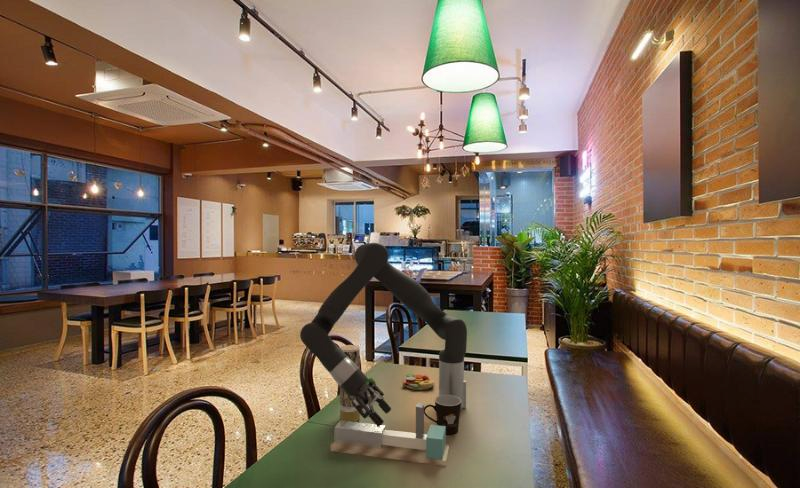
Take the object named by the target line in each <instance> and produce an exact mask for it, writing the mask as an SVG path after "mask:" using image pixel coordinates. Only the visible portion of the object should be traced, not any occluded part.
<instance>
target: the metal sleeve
mask: <svg viewBox="0 0 800 488" xmlns="http://www.w3.org/2000/svg"><path fill="white" fill-rule="evenodd" d="M333 429H334V430H333V431H334V432H333V433H334V434H333V435H334V436H333V439H334V441H333V442H334V443H337V444H345V445H352V446H360V447H368V448H376V449H381V448H382V447H383V445H382V432H383V431H384V430H386V424H385V425H383V424H382V425H380V426H379V427H378V426H377V425H376V424H375V423H367V422H359V421H357V422H350V421H341V420H340V419H339V422H338V423H337V424H336V425H335V426H334V428H333Z"/></svg>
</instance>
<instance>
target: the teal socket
mask: <svg viewBox="0 0 800 488" xmlns="http://www.w3.org/2000/svg"><path fill="white" fill-rule="evenodd" d="M446 436H447V435H446V426H438V425H437V424H429V429H428V431H427V437H426V458H431V459H439V460H443V455H444V451H445V446H446V445H447V440H446V439H447V438H446Z"/></svg>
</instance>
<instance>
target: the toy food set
mask: <svg viewBox="0 0 800 488" xmlns="http://www.w3.org/2000/svg"><path fill="white" fill-rule="evenodd" d="M402 384H403V385H404V386H405V387H406V388H408V389H410V390H412V391H413V390H414V391H425V390H429V389H431V388H433V387H434V386H435V381H433V380H432V379H430V378H429V376H428V375H421V374H414V373H407V374H406V379H405V380H404V381H403V382H402Z"/></svg>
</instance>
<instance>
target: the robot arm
mask: <svg viewBox="0 0 800 488" xmlns="http://www.w3.org/2000/svg"><path fill="white" fill-rule="evenodd" d="M354 260H355V263H356V264H357V266H356V267H355V268H354V270H353V271H352V272H351V273H350V274H349V275H348V276H347V278H345V279H344V280H343V281H342V282H340V284H339V285H337V286H336V288H334V289H333V290H332V291H331V292H330V293H329V295H328V296H327V298H326V299H325V300H324V302H323V303H322V304H321V306H320V307H319V309H318V311H317V313H316V315H315V316H314V317H313V319H312V320H311V322H309V323H307V324H305V325H303V327H302V328H301V330H300V334H299V336H300V340H301V342H302V344H304V346H305V347H306V348H307V349H308V350H309V351H310V352H311V353H312V354H313V355H314V357H316V358H317V359H318V360H319V362H320V363H321V365H322V367H323V368H325V370H326V371H327V372H328V373H329V375H331V377H332V379H333V380H334V381H335V382H336V384H338V386H339V388H340V387H341V388H342V389H343V390H344V391H345V393H346V394H347V395H348V396H352V395H354V397H355V399H354V400H353V401H352V402H351V403H352V405H353V406H354V407H355V408H356V409H357V411H358V412H359V413H360V417H362V418H363V419H365V420H366V419H367V418H368V419H371V421H372V422H373V424H376V425H377V426H378V427H379V426H380V425H383V424H384V419H383V418H382V417H381V416H380V415H379V414H378V412H377V411H375V409H374V406H373V405H374V403H375V404H377V406H378V407H379V408H380V409H381V410H382V411H383V413H385V414H387V415H388V413H390V412H391V411H392V407H391V406H390V405H389V404H388V403H387V401H385V398H384V395H385V394H384V392H383V391H382V390H381V389H380V388H379V387H378V386H377V384H376V385H375V384H374V383H373V382H372V381H370V382H369V383H368V384H367V383H366V381H367V379H369V378H368V377H367V375H366V374H365V373H364V372H363V371H362V370H361V369H359V368H358V367H357V365H356V364H355V363H354V362H353V361H352V360H351V359H349V358H348V357H347V355H346V354H345V353H344V352H343V351H342V350H341V349H340V347H339V346H338V345H337V344H336V343H335V342H334V341H333V339H332V338H331V337H330V336H329V334H330V333H331V331H332V330H333V328H334V326H335V324H336V323H337V322H338V321H339V320H340V319H341V317H342V316H343V314H344V313H345V312H346V310H347V309H348V308H349V306H350V305H351V303H352V302H353V301H354V300H355V299H356V297H357V296H358V295H359V293H360V292H361V291H362V290H363V289H364V288H365V286H367V284H368V283H369V282H370V281H371V280H372V279H373V278H374V279H376V280H377V281H378V282H380V283H381V284H382V285H383V286H384V287H385V288H386V289H387V290H388V291H389V292H390V294H392V295H393V296H394V297H395V298H397V300H398V301H399V302H401V303H402V304H403V305H404V306H405V307H406V308H407V309H408V310H410V311H411V312H412V313H414V314H415V315H416V316H418V317H419V318H420V319H422V320H423V321H424V322H425V323H426V324H427V326H429V327H430V328H431V330H432V331H433V332H434V333H435V334H436V336H438V337H439V338H440V339H441V340H444V349H442V350H440V351H439V352H438V369H439V370H438V396H440V395H453V396H456V397H459V398H460V399H461V409H460V411H461V410H462V409H464V408H467V381H466V380H465V367H464V366H465V356H466V352H467V342H468V330H467V325H466V322H465V321H464V320H462V319H461V318H458V317H455V316H452V315H450V314H448V313H447V312H445V311H444V310H442V309H441V308H440V307H438V306H437V305H436V304H435V302H434V300H433V299H432V296H431V294H430V293H429V292H428V290H427V289H426V288H425V287H424V286H423V285H421V283H419V282H418V281H417V280H416V279H414V278H413V277H412V276H410V275H408V274H407V273H405V272H404V271H401V270H400V269H398V268H396V267H395V266H393V265H392V263H390V262H389V251H388V249H387V246H385V245H384V244H382V243H380V242H369V243H367V242H366V243H363V244H360V245H359V246H358V247H357V248H356V249H355V252H354ZM373 388H374V389H373ZM359 405H360V406H359Z"/></svg>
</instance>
